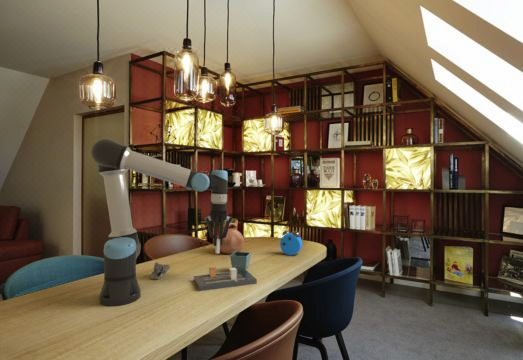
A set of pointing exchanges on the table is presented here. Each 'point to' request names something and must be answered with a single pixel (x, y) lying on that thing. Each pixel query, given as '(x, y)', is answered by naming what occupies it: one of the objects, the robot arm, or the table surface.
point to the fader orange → (212, 271)
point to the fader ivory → (233, 273)
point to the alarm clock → (291, 243)
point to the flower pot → (240, 260)
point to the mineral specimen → (159, 270)
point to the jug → (231, 240)
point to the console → (223, 280)
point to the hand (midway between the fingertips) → (217, 252)
